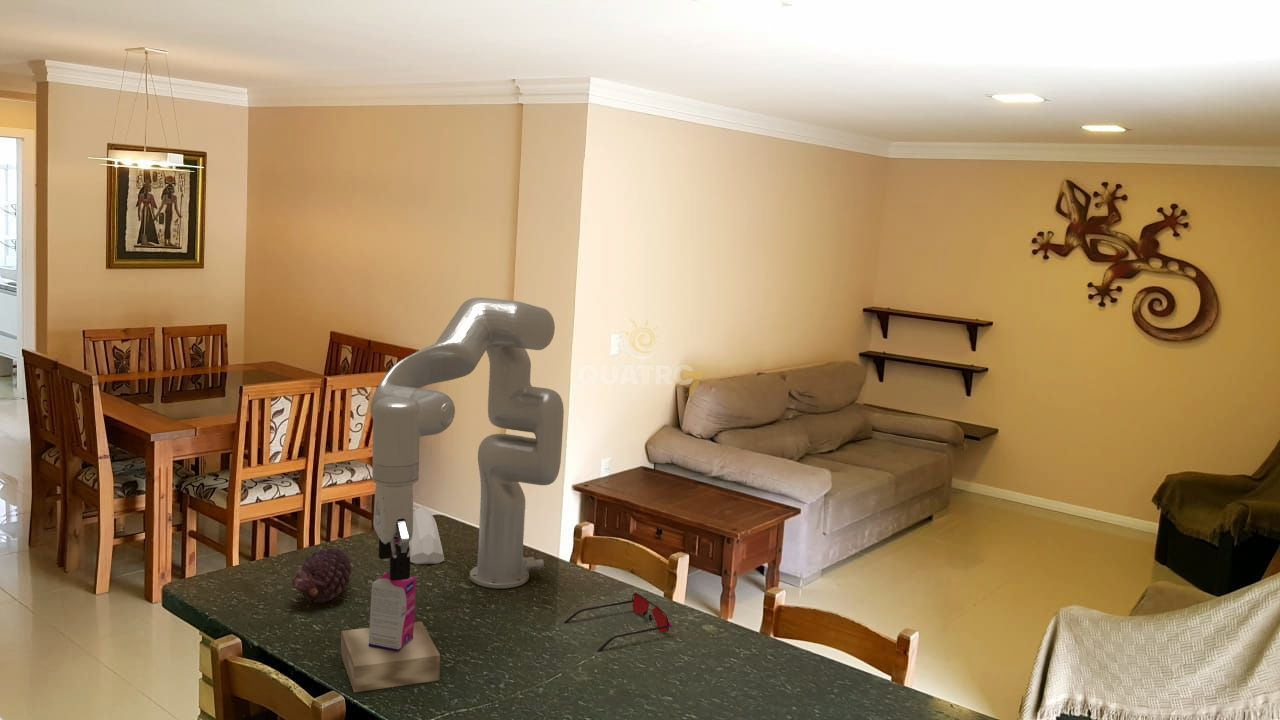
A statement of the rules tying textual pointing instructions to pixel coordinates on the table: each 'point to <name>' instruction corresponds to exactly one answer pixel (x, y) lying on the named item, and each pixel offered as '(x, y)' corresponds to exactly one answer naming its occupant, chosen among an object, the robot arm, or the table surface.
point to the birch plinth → (389, 660)
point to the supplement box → (392, 613)
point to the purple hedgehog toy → (323, 575)
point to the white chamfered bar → (425, 539)
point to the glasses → (639, 607)
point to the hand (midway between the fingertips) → (393, 568)
